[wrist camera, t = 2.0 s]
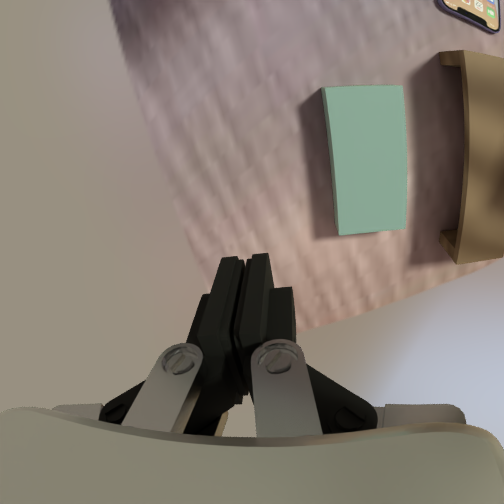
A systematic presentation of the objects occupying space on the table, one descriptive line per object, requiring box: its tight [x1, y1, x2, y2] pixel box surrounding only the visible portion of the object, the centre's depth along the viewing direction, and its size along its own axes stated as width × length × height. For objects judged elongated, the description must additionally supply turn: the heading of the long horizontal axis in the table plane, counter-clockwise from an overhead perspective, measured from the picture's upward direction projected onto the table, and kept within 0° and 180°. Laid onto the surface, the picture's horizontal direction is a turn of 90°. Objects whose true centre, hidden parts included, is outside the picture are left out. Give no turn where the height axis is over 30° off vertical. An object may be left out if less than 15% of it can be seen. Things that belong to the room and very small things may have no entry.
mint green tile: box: [321, 85, 407, 235], centre depth 23 cm, size 12×6×2 cm, turn 10°
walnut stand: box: [439, 50, 504, 265], centre depth 20 cm, size 18×6×4 cm, turn 10°
